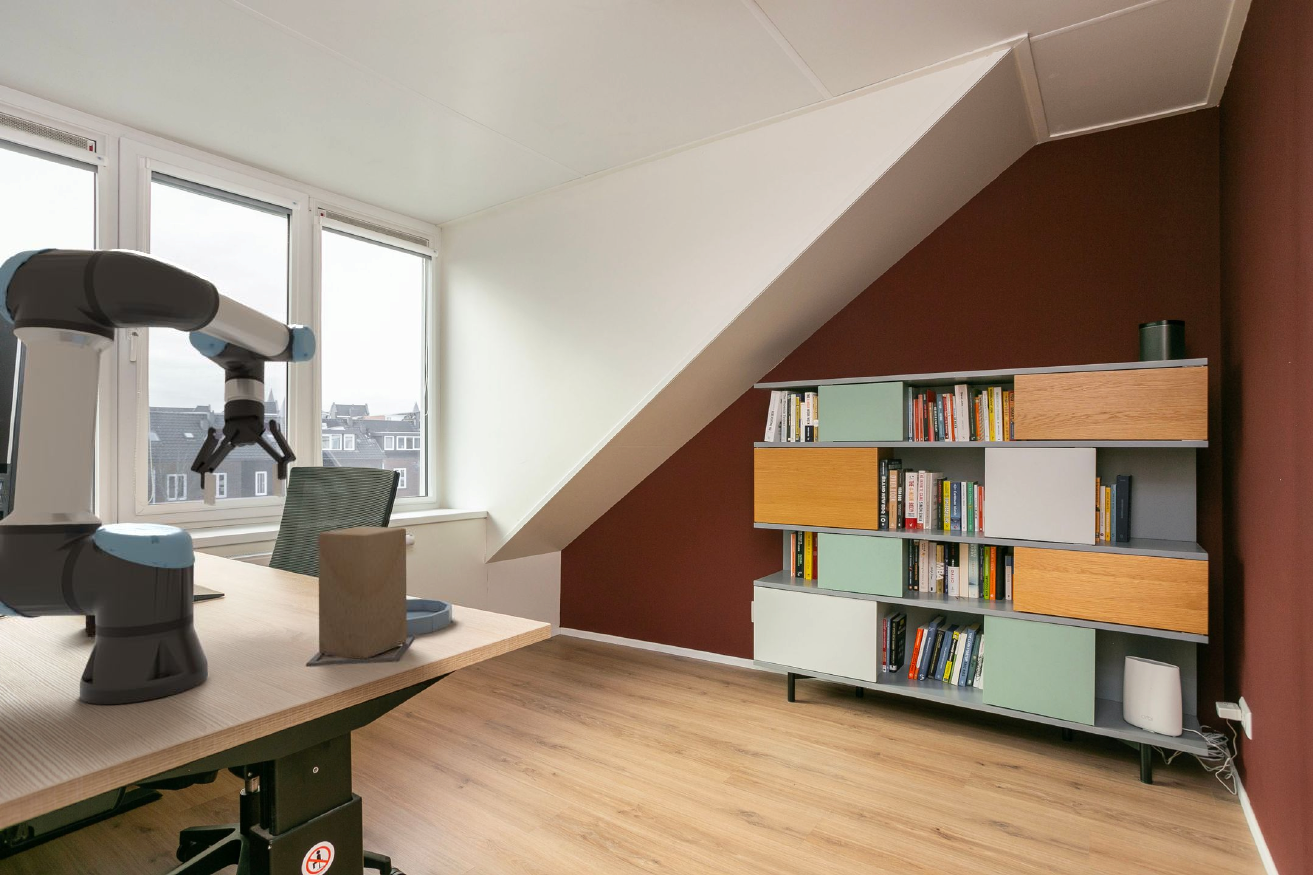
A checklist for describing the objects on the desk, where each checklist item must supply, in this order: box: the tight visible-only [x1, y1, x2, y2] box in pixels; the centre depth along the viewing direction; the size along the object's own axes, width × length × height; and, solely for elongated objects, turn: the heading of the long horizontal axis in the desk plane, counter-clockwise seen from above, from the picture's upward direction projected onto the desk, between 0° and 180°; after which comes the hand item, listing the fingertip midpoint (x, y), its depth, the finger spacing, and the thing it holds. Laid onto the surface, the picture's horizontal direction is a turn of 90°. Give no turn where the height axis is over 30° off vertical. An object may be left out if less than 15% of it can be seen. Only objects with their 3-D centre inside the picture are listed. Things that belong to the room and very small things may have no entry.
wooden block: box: [318, 525, 407, 659], centre depth 121 cm, size 10×10×20 cm
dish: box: [406, 598, 453, 636], centre depth 138 cm, size 18×18×3 cm
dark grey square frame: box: [305, 635, 416, 667], centre depth 121 cm, size 14×14×1 cm
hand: (243, 499), depth 148 cm, fingers open, 13 cm apart
